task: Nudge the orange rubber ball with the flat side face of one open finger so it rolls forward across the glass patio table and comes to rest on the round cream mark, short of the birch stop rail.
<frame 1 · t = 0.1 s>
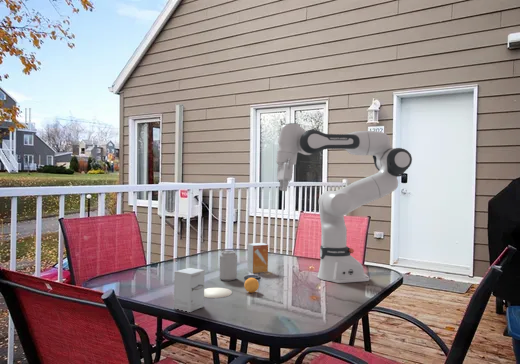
hand: (283, 190, 170), 39 cm above the table, tool pointing down, fingers open, 8 cm apart
small box: (257, 271, 183), on the table
can: (228, 279, 168), on the table
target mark: (214, 292, 147), on the table
ball: (251, 285, 148), on the table
supplement box: (189, 308, 129), on the table
stop rail: (184, 293, 146), on the table
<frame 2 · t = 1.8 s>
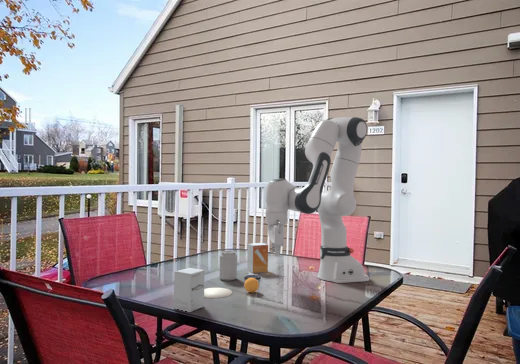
hand: (275, 253, 153), 14 cm above the table, tool pointing down, fingers open, 8 cm apart
nothing on the table moved.
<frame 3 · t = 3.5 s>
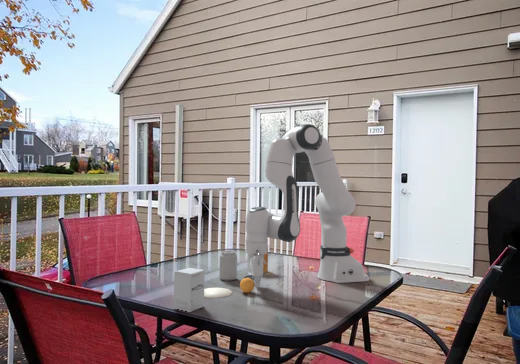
hand: (255, 283, 152), 2 cm above the table, tool pointing down, fingers open, 8 cm apart
ball: (247, 285, 148), on the table
everything else where it was.
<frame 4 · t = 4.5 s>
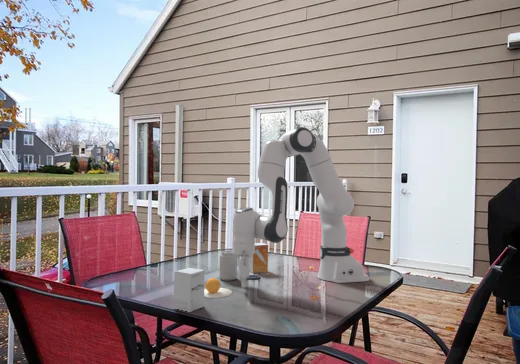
hand: (243, 283, 152), 2 cm above the table, tool pointing down, fingers open, 8 cm apart
ball: (212, 285, 147), on the table
everything else where it was.
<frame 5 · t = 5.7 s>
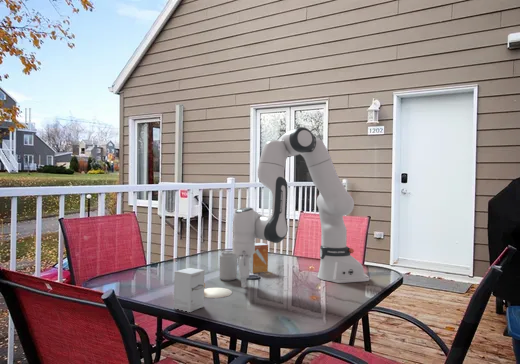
hand: (243, 283, 152), 2 cm above the table, tool pointing down, fingers open, 8 cm apart
ball: (197, 285, 146), on the table
everything else where it was.
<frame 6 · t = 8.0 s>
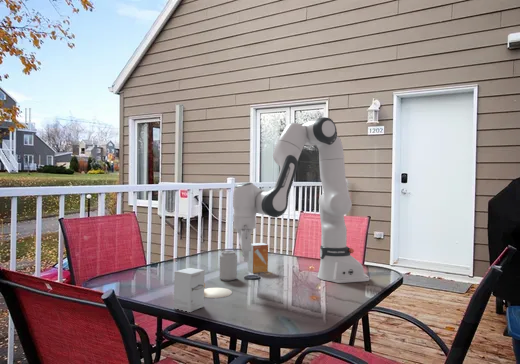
hand: (245, 258, 152), 12 cm above the table, tool pointing down, fingers open, 8 cm apart
nothing on the table moved.
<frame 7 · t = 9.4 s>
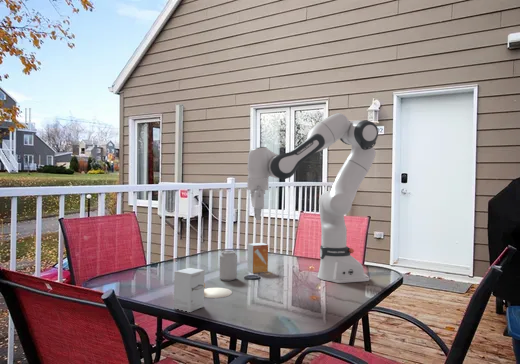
hand: (257, 218, 161), 27 cm above the table, tool pointing down, fingers open, 8 cm apart
nothing on the table moved.
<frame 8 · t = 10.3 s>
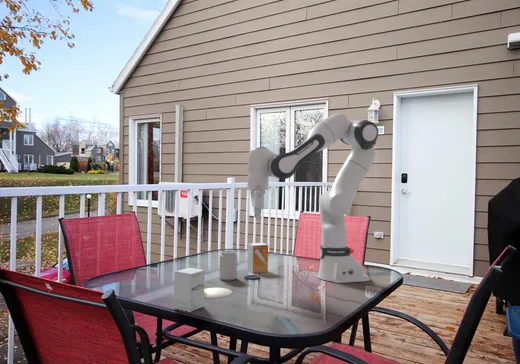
hand: (257, 218, 161), 27 cm above the table, tool pointing down, fingers open, 8 cm apart
nothing on the table moved.
at the end: ball 6.6 cm from the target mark (horizontally); ball at rest at the end (0.0 cm/s); ball moved 20.6 cm from its start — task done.
